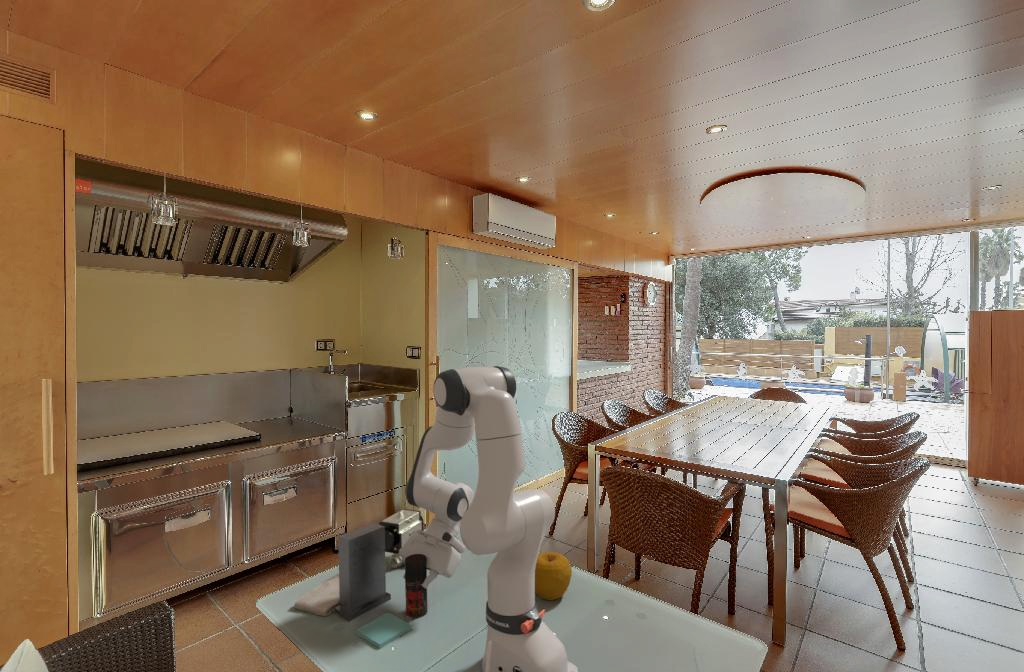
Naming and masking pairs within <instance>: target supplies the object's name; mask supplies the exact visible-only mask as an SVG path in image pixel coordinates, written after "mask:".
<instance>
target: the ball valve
mask: <svg viewBox="0 0 1024 672" xmlns="http://www.w3.org/2000/svg"><path fill="white" fill-rule="evenodd" d="M379 525H382V526H385V553H390V554H391V555H390V557H389V559H388V563H389V566H390V568H393V569H395V568H399V567H401V566H405V560H404V559H402V558H401V557H400V550H401V549H402V547H403V546H404V544H405V543H406V541H407V540H408V539H409V537H410V536H411V535H412V534H413V533H414V532H416V531H418V530H422V531H424V518H423V516H422V515H421V510H415V509H408V508H403V509H401V510H399V511H397V512H396V513H393V514H392V515H390V516H388V517H386V518H384V519H383V520H381V521H379ZM417 533H418V532H417Z"/></svg>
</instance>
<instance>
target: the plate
mask: <svg viewBox="0 0 1024 672" xmlns="http://www.w3.org/2000/svg"><path fill="white" fill-rule="evenodd" d="M412 627H413V626H412V624H410V623H408V622H406V621H404V620H403V619H401V618H398V617H397V616H395V615H393V614H392V613H390V612H387V613H385V614H383V615H381V616H380V617H377V618H376V619H374V620H372V621H370V622H368V623H366V624H364V625H363V626H361V627H360V628H358V629H356V631H355V632H356V635H358V637H360V638H362V639H363V640H366V641H367V642H369V643H370V644H372V645H374V646H375V647H377V648H378V649H381V648H383V647H386V646H387V645H388V644H390V643H391V642H393V641H394V640H396V639H398V638H399V637H401V636H403V635H404V634H406V633H408V632H410V631H411V630H412Z"/></svg>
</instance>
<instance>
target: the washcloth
mask: <svg viewBox="0 0 1024 672" xmlns="http://www.w3.org/2000/svg"><path fill="white" fill-rule="evenodd" d="M339 605H340V598H339V575H337V576H335V577H334V578H331V579H330V580H327V581H326V580H325V581H323V582H322V583H320V585H319V584H318V586H316V587H315V588H313V589H311V590H310V591H308V592H306V593H305V594H304V595H302V596H300V597H299V598H298V599H297V600H296V601H295V603H294V606H293V607H294V608H295V609H296V608H297V610H300V611H302V610H304V611H303V612H308V613H312V614H313V613H314V614H313V615H316V614H317V615H319V616H321V615H322V616H321V617H327V616H328V615H330V614H331V613H333V612H335V610H334V608H335V607H337V606H339ZM332 611H333V612H332Z"/></svg>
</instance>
